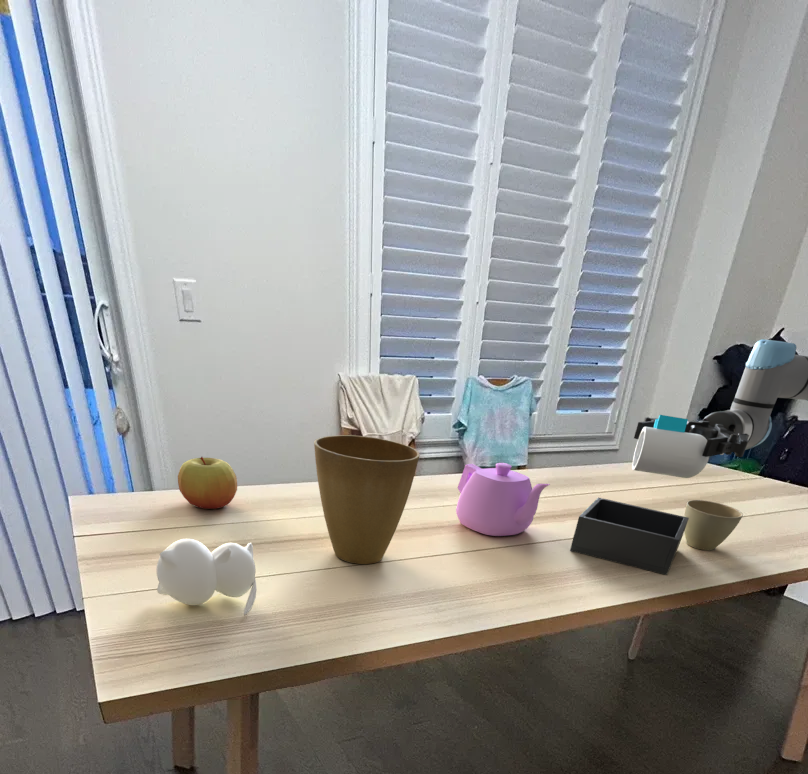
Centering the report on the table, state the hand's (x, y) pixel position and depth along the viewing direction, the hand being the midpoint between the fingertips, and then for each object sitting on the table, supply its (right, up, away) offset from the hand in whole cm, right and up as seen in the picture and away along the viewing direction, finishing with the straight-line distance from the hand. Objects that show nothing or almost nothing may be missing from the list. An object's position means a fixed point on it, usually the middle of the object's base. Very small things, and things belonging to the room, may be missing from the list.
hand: (671, 439), depth 110 cm
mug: (+1, -4, +5) cm, 7 cm away
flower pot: (+10, -16, +11) cm, 22 cm away
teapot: (-30, -14, +7) cm, 33 cm away
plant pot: (-53, -23, -12) cm, 59 cm away
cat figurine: (-71, -34, -30) cm, 84 cm away
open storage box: (-7, -18, +4) cm, 20 cm away
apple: (-80, -11, +1) cm, 81 cm away
